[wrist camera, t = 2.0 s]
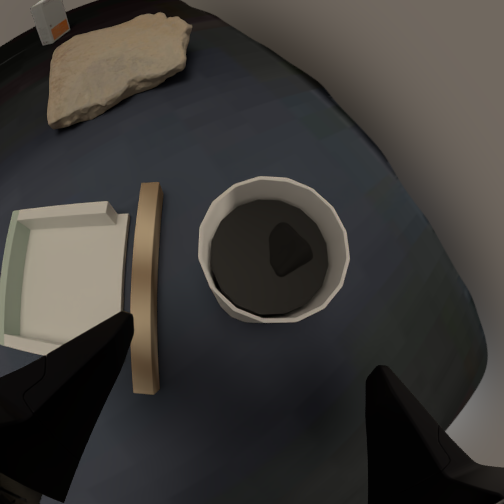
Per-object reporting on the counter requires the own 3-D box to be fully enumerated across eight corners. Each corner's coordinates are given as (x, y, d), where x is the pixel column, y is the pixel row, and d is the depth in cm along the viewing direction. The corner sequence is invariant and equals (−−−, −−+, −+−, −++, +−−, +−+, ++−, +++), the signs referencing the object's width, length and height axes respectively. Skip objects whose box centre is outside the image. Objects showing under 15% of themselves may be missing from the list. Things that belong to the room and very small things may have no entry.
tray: (130, 216, 21) (119, 200, 19) (124, 362, 18) (109, 366, 15) (29, 223, 20) (13, 211, 17) (17, 344, 17) (-3, 343, 14)
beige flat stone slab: (161, 24, 34) (56, 57, 27) (163, -8, 27) (48, 25, 20) (205, 92, 29) (50, 145, 23) (211, 44, 22) (28, 102, 16)
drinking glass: (261, 229, 22) (290, 155, 13) (310, 296, 21) (375, 264, 12) (191, 272, 21) (168, 221, 11) (240, 345, 19) (258, 357, 10)
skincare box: (53, 43, 30) (40, 3, 19) (42, 46, 30) (28, 8, 19) (71, 29, 32) (60, -10, 21) (60, 31, 32) (48, -5, 21)
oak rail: (159, 389, 18) (153, 394, 16) (141, 387, 18) (133, 392, 16) (163, 194, 22) (159, 182, 20) (147, 194, 22) (141, 183, 20)
